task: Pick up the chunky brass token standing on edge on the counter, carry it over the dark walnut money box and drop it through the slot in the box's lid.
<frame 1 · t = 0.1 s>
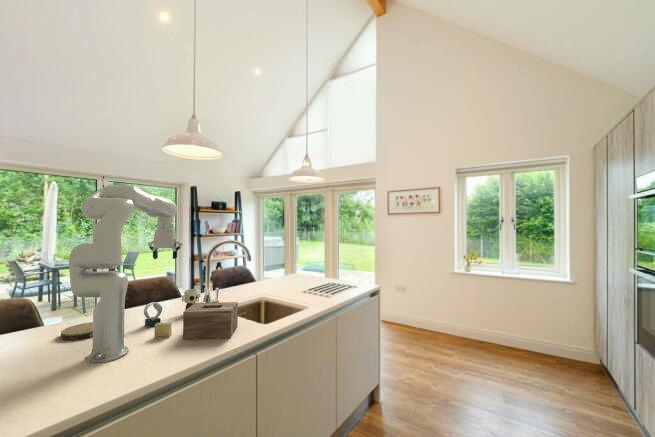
hand: (165, 258, 154), 31 cm above the worktop, tool pointing down, fingers open, 9 cm apart
watch: (152, 325, 142), on the worktop
character mug: (191, 314, 160), on the worktop
round wooden board: (84, 334, 131), on the worktop
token: (163, 337, 127), on the worktop
coin box: (211, 332, 132), on the worktop
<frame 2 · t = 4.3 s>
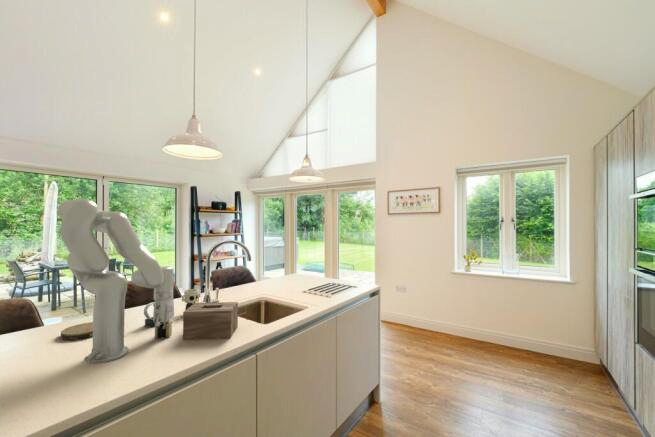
hand: (163, 336, 127), 0 cm above the worktop, tool pointing down, fingers closed on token, 2 cm apart
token: (163, 336, 127), on the worktop, touching gripper
everything else where it was.
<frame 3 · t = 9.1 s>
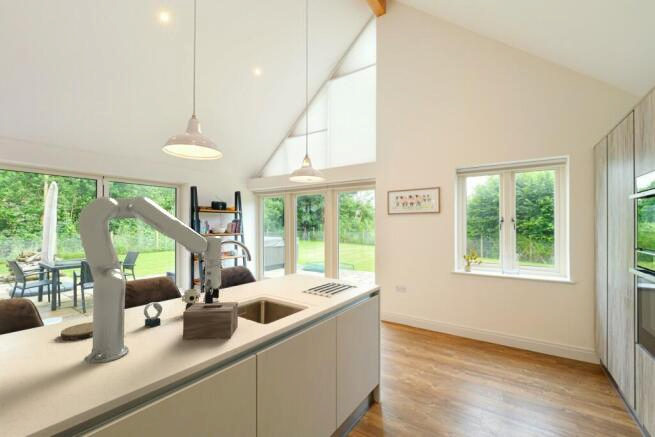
hand: (212, 300, 132), 15 cm above the worktop, tool pointing down, fingers open, 9 cm apart
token: (206, 326, 132), point 3 cm above the worktop, tilted 90°
everything else where it was.
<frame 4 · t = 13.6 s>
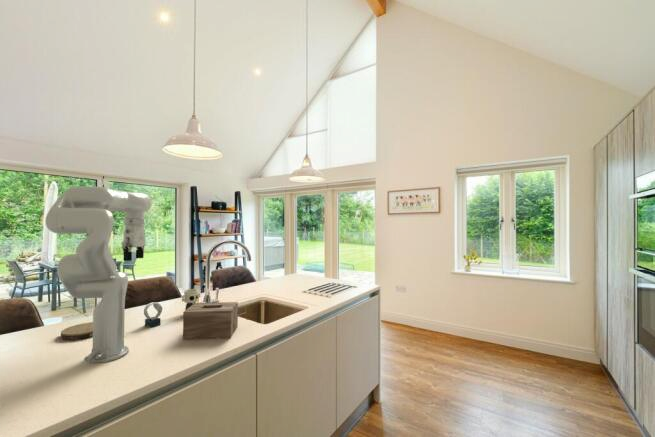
hand: (133, 259, 134), 33 cm above the worktop, tool pointing down, fingers open, 9 cm apart
nothing on the worktop moved.
at the end: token inside the target area on the coin box (2.8 cm from its centre), point 2.9 cm above the coin box's base; the gripper is holding nothing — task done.
